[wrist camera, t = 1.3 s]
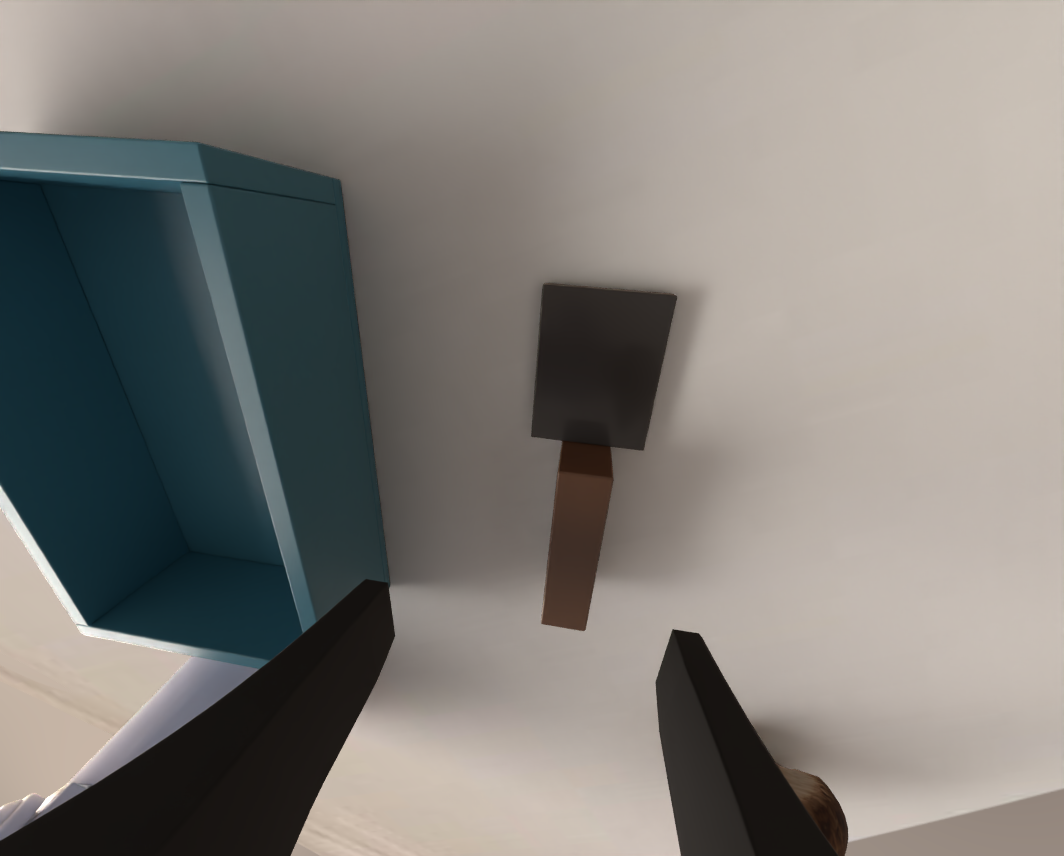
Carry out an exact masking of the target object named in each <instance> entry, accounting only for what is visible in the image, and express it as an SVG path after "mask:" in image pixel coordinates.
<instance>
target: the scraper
mask: <svg viewBox="0 0 1064 856" xmlns="http://www.w3.org/2000/svg"><path fill="white" fill-rule="evenodd" d="M676 300H677V296H676V295H675V294H671V293H659V292H648V291H636V290H624V289H612V288H601V287H589V286H577V285H565V284H554V283H544V284H543V287H542V300H541V313H540V327H539V340H538V353H537V366H536V380H535V393H534V406H533V420H532V433H531V436H532V437H537V438H545V439H553V440H561V441H562V447H561V453H560V460H559V466H558V473H557V482H556V491H555V500H554V509H553V518H552V526H551V535H550V544H549V553H548V562H547V571H546V580H545V588H544V597H543V606H542V615H541V624H545V625H551V626H556V627H562V628H568V629H574V630H580V631H585V630H586V625H587V619H588V614H589V609H590V604H591V598H592V593H593V588H594V582H595V577H596V572H597V566H598V561H599V556H600V550H601V545H602V540H603V534H604V529H605V524H606V518H607V513H608V508H609V502H610V497H611V492H612V486H613V481H614V477H613V466H612V456H611V447H618V448H626V449H634V450H644V446H645V442H646V437H647V432H648V428H649V423H650V419H651V414H652V410H653V405H654V400H655V396H656V391H657V387H658V382H659V377H660V373H661V368H662V364H663V359H664V355H665V350H666V345H667V341H668V336H669V332H670V327H671V323H672V318H673V313H674V309H675V304H676Z"/></svg>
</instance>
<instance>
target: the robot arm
mask: <svg viewBox="0 0 1064 856" xmlns="http://www.w3.org/2000/svg"><path fill="white" fill-rule="evenodd" d="M394 637H395V631H394V624H393V616H392V609H391V601H390V594H389V586H388V583H387V582H381V581H375V580H369V579H365V580H364V581H362V582H361V583H360V584H359V585H358V586H357V587H355V588H354V589H353V590H352V591H351V592H350V593H349V594H348V595H346V596H345V597H344V598H343V599H342V600H341V601H340V602H338V603H337V604H336V605H335V606H334V607H333V608H332V609H331V610H329V611H328V612H327V613H326V614H325V615H324V616H323V617H321V618H320V619H319V620H318V621H317V622H316V623H314V624H313V625H312V626H311V627H310V628H309V629H307V630H306V631H305V632H304V633H303V634H301V635H300V636H299V637H298V638H297V639H296V640H294V641H293V642H292V643H291V644H290V645H288V646H287V647H286V648H285V649H284V650H282V651H281V652H280V653H279V654H278V655H276V656H275V657H274V658H273V659H271V660H270V661H269V662H268V663H266V664H265V665H264V666H262V667H261V668H260V669H256V668H251V667H246V666H240V665H235V664H230V663H225V662H220V661H215V660H210V659H205V658H199V657H194V656H191V657H190V658H189V659H188V660H187V661H186V662H185V663H184V664H183V665H182V666H181V667H180V668H179V669H178V670H177V671H176V672H175V673H174V675H173V676H172V677H171V678H170V679H169V680H168V681H167V682H166V683H165V684H164V685H163V686H162V687H161V688H160V689H159V690H158V691H157V692H156V693H155V694H154V695H153V696H152V697H151V698H150V699H149V700H148V701H147V702H146V703H145V704H144V705H143V706H142V707H141V708H140V709H139V710H138V711H137V712H136V713H135V714H134V715H133V716H132V717H131V718H130V720H129V721H128V722H127V723H126V724H125V725H124V726H123V727H122V728H121V729H120V730H119V731H118V732H117V733H116V734H115V735H114V736H113V737H112V738H111V739H110V740H109V741H108V742H107V743H106V744H105V745H104V746H103V747H102V748H101V749H100V751H98V752H97V753H96V754H95V755H94V756H93V757H92V758H91V759H90V760H89V762H88V763H87V764H86V765H85V766H84V767H83V768H82V769H81V770H80V771H79V772H78V773H77V774H76V775H75V776H74V777H73V778H72V779H71V780H70V781H69V782H68V783H67V784H66V785H65V786H64V787H63V788H61V789H60V790H58V791H57V792H55V793H54V794H52V795H50V796H49V797H48V798H46V799H44V798H43V797H41V796H39V795H38V794H36V793H33V794H30V795H28V796H27V797H25V798H24V799H23V800H21V799H20V800H17V801H14V802H11V803H8V804H5V805H3V806H2V807H1V808H0V856H291V853H292V851H293V849H294V846H295V844H296V842H297V840H298V837H299V835H300V833H301V830H302V828H303V826H304V824H305V821H306V819H307V817H308V814H309V812H310V810H311V808H312V806H313V803H314V801H315V799H316V797H317V795H318V793H319V791H320V789H321V787H322V785H323V783H324V781H325V779H326V777H327V775H328V773H329V771H330V770H331V768H332V766H333V764H334V762H335V760H336V758H337V756H338V754H339V752H340V751H341V749H342V747H343V745H344V743H345V741H346V739H347V737H348V735H349V733H350V732H351V730H352V728H353V726H354V724H355V722H356V720H357V718H358V716H359V714H360V713H361V711H362V709H363V707H364V705H365V703H366V701H367V699H368V697H369V695H370V693H371V691H372V689H373V687H374V685H375V683H376V682H377V680H378V677H379V675H380V673H381V670H382V668H383V665H384V663H385V660H386V658H387V655H388V653H389V650H390V648H391V645H392V642H393V640H394ZM656 695H657V709H658V720H659V732H660V738H661V744H662V750H663V756H664V761H665V767H666V773H667V779H668V784H669V790H670V796H671V801H672V807H673V813H674V818H675V824H676V830H677V835H678V841H679V847H680V852H681V856H839V855H838V854H837V852H836V851H835V850H834V848H833V847H832V845H831V844H830V843H829V841H828V840H827V838H826V837H825V836H824V834H823V833H822V831H821V830H820V828H819V827H818V826H817V824H816V823H815V821H814V820H813V818H812V817H811V815H810V814H809V812H808V811H807V810H806V808H805V807H804V805H803V804H802V802H801V801H800V799H799V798H798V796H797V795H796V793H795V792H794V790H793V789H792V787H791V786H790V784H789V783H788V781H787V780H786V778H785V777H784V775H783V773H782V772H781V770H780V769H779V767H778V766H777V764H776V763H775V761H774V759H773V758H772V756H771V755H770V753H769V752H768V750H767V748H766V747H765V745H764V744H763V742H762V740H761V739H760V737H759V735H758V734H757V732H756V731H755V729H754V727H753V726H752V724H751V722H750V721H749V719H748V718H747V716H746V714H745V713H744V711H743V709H742V707H741V706H740V704H739V702H738V701H737V699H736V697H735V696H734V694H733V692H732V690H731V689H730V687H729V685H728V683H727V682H726V680H725V678H724V676H723V675H722V673H721V671H720V669H719V667H718V666H717V664H716V662H715V660H714V658H713V657H712V655H711V653H710V651H709V649H708V647H707V646H706V644H705V642H704V640H703V638H702V637H701V636H700V634H698V633H692V632H686V631H680V630H674V629H673V630H672V633H671V636H670V639H669V642H668V645H667V648H666V652H665V655H664V658H663V661H662V664H661V667H660V670H659V673H658V676H657V679H656Z"/></svg>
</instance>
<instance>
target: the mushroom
mask: <svg viewBox="0 0 1064 856" xmlns="http://www.w3.org/2000/svg"><path fill="white" fill-rule="evenodd" d="M777 766H778V767H779V769H780V770H781V772H782V773H783V775H784V777H785V778H786V780H787V781H788V783H789V784H790V786H791V787H792V789H793V790H794V792H795V793H796V795H797V796H798V798H799V799H800V801H801V802H802V804H803V805H804V807H805V808H806V810H807V811H808V812H809V814H810V815H811V817H812V818H813V820H814V821H815V823H816V824H817V826H818V827H819V828H820V830H821V831H822V833H823V834H824V836H825V837H826V838H827V840H828V841H829V843H830V844H831V845H832V847H833V848H834V850H835V851H836V852H837V854H838V855H839V856H845V852H846V848H847V843H848V827H847V822H846V818H845V815H844V813H843V811H842V808H841V806H840V804H839V802H838V801H837V799H836V798H835V796H834V794H833V793H832V792H831V790H830V789H829V787H828V786H827V785H826V784H825V783H824V782H823V781H822V780H821V779H820V778H819V777H817V776H814V775H811V774H808V773H805V772H802V771H799V770H797V769H787V768H784V767H782V766H780V765H778V764H777Z"/></svg>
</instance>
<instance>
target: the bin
mask: <svg viewBox="0 0 1064 856" xmlns="http://www.w3.org/2000/svg"><path fill="white" fill-rule="evenodd" d="M0 508H1V510H2V511H3V513H4V514H5V516H6V518H7V519H8V521H9V522H10V524H11V525H12V527H13V528H14V530H15V532H16V533H17V535H18V536H19V538H20V539H21V541H22V542H23V544H24V546H25V547H26V549H27V550H28V552H29V553H30V555H31V557H32V558H33V560H34V561H35V563H36V564H37V566H38V567H39V569H40V571H41V572H42V574H43V575H44V577H45V578H46V580H47V581H48V583H49V585H50V586H51V588H52V589H53V591H54V592H55V594H56V596H57V597H58V599H59V600H60V602H61V603H62V605H63V606H64V608H65V610H66V611H67V613H68V614H69V616H70V617H71V619H72V620H73V622H74V623H76V626H77V628H78V629H79V631H80V632H81V634H82V635H87V636H92V637H97V638H102V639H107V640H112V641H117V642H123V643H128V644H133V645H138V646H143V647H148V648H153V649H158V650H164V651H169V652H174V653H179V654H184V655H189V656H194V657H199V658H205V659H210V660H215V661H220V662H225V663H230V664H235V665H240V666H246V667H251V668H256V669H260V668H261V667H262V666H264V665H265V664H266V663H268V662H269V661H270V660H271V659H273V658H274V657H275V656H276V655H278V654H279V653H280V652H281V651H282V650H284V649H285V648H286V647H287V646H288V645H290V644H291V643H292V642H293V641H294V640H296V639H297V638H298V637H299V636H300V635H301V634H303V633H304V632H305V631H306V630H307V629H309V628H310V627H311V626H312V625H313V624H314V623H316V622H317V621H318V620H319V619H320V618H321V617H323V616H324V615H325V614H326V613H327V612H328V611H329V610H331V609H332V608H333V607H334V606H335V605H336V604H337V603H338V602H340V601H341V600H342V599H343V598H344V597H345V596H346V595H348V594H349V593H350V592H351V591H352V590H353V589H354V588H355V587H357V586H358V585H359V584H360V583H361V582H362V581H364V580H365V579H369V580H375V581H381V582H387V583H388V586H389V588H390V580H389V572H388V564H387V556H386V548H385V540H384V531H383V523H382V515H381V507H380V499H379V491H378V483H377V475H376V466H375V458H374V450H373V442H372V434H371V426H370V418H369V409H368V401H367V393H366V385H365V377H364V369H363V361H362V353H361V344H360V336H359V328H358V320H357V312H356V304H355V296H354V287H353V279H352V271H351V263H350V255H349V247H348V239H347V230H346V222H345V214H344V206H343V198H342V190H341V182H340V180H339V179H335V178H330V177H328V176H324V175H320V174H316V173H313V172H309V171H305V170H301V169H298V168H294V167H290V166H286V165H283V164H279V163H275V162H271V161H268V160H264V159H260V158H256V157H253V156H249V155H245V154H241V153H237V152H234V151H230V150H226V149H222V148H219V147H215V146H211V145H207V144H204V143H200V142H189V141H171V140H153V139H135V138H116V137H98V136H80V135H62V134H43V133H25V132H7V131H0Z"/></svg>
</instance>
